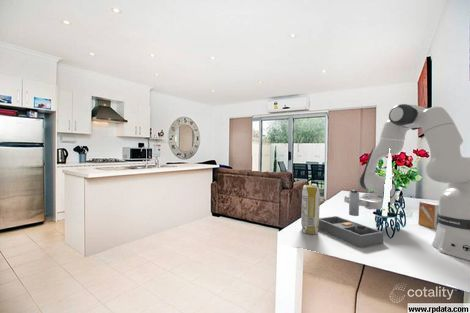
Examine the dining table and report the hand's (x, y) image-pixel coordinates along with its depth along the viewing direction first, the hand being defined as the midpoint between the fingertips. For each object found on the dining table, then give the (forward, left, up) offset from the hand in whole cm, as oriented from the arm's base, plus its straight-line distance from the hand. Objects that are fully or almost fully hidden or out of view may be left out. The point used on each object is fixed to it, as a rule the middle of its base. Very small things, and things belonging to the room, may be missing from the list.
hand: (352, 202), depth 120 cm
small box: (-13, -45, -14) cm, 49 cm away
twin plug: (-14, +12, -11) cm, 22 cm away
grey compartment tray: (-7, +12, -13) cm, 19 cm away
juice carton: (+3, +26, -14) cm, 29 cm away
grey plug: (0, -1, -7) cm, 7 cm away
